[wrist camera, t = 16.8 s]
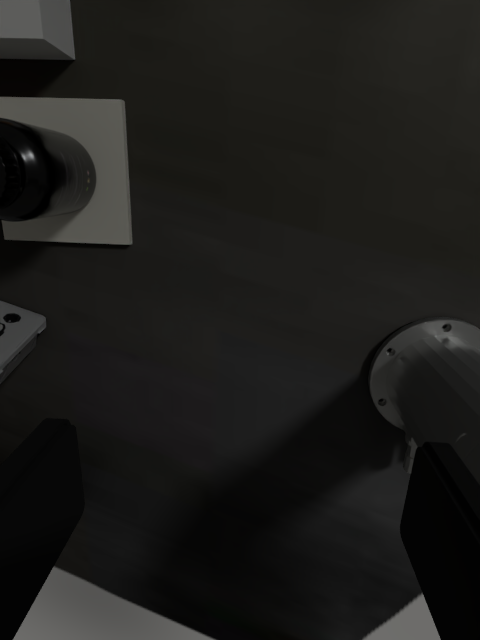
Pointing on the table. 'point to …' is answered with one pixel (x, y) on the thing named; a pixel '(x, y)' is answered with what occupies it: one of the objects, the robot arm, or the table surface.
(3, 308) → the electrical switch
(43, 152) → the supplement bottle
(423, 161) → the table surface
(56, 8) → the box
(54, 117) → the pad
